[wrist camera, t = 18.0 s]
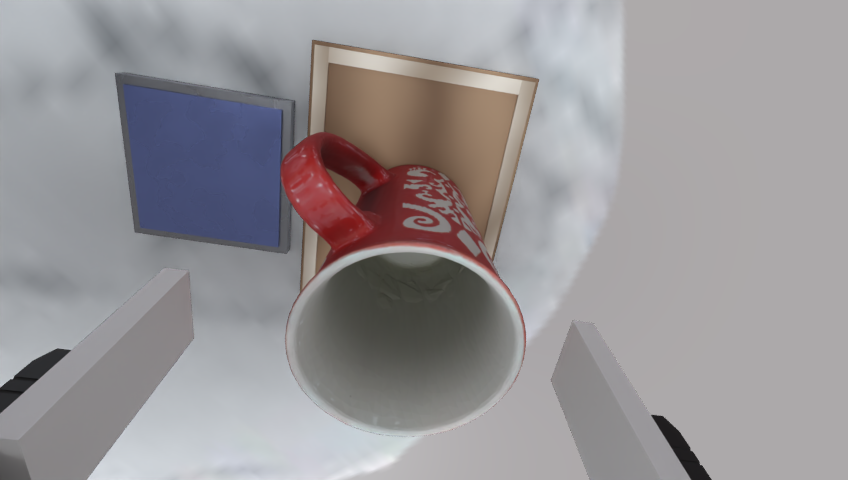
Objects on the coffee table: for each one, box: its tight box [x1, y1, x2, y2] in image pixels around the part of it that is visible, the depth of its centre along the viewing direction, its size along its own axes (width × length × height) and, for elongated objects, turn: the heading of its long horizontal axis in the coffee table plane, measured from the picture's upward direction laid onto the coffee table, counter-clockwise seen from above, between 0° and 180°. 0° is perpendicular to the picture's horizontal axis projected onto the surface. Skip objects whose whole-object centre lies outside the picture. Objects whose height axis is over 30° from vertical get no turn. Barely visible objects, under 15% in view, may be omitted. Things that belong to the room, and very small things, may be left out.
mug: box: [280, 132, 526, 437], centre depth 21 cm, size 13×9×14 cm
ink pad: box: [115, 73, 295, 254], centre depth 27 cm, size 10×10×1 cm
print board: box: [300, 40, 539, 292], centre depth 28 cm, size 13×17×1 cm
